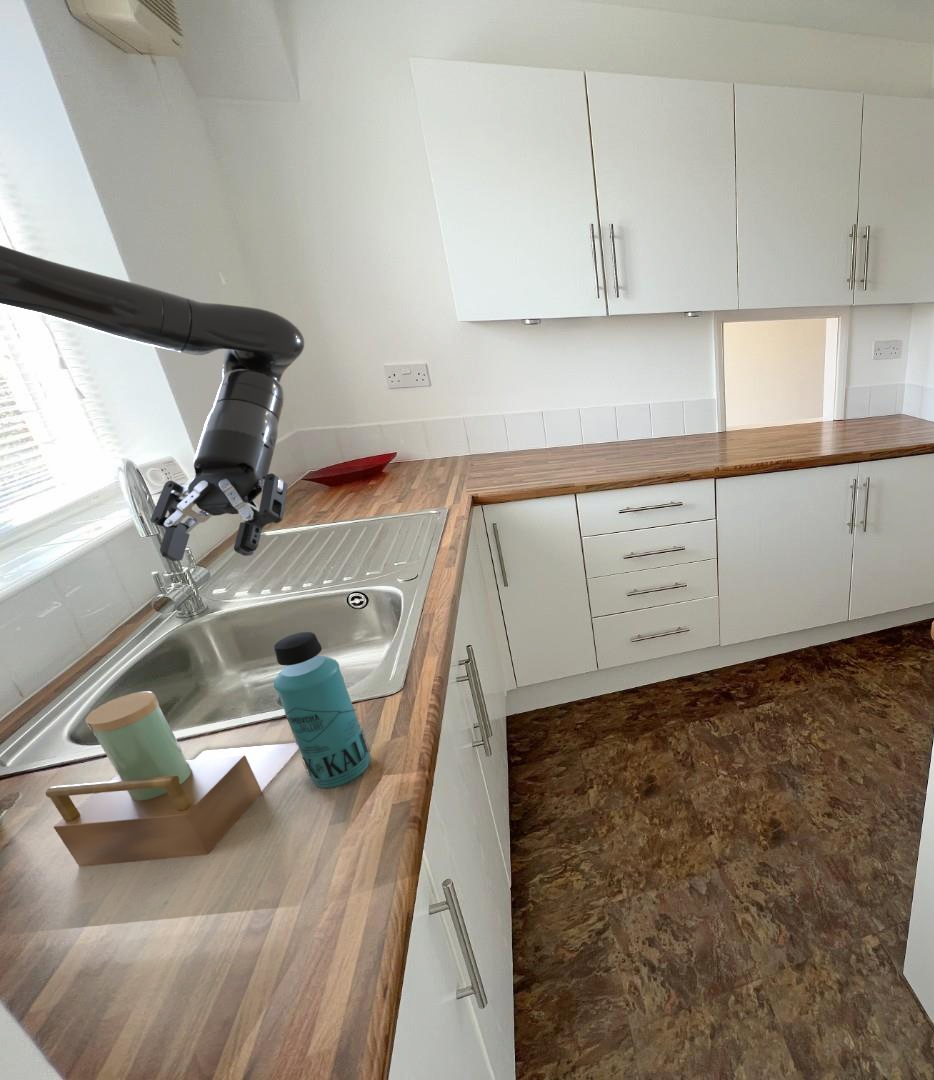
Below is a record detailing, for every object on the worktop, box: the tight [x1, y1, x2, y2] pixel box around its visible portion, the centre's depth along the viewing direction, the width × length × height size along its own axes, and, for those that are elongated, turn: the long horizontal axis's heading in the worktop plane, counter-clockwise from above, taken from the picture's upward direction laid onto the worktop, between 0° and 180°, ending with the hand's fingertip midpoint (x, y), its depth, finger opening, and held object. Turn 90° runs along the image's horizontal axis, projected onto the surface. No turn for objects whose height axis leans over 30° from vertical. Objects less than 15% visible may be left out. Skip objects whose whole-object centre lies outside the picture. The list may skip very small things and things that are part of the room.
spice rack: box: [45, 742, 300, 868], centre depth 67 cm, size 13×17×11 cm
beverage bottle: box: [273, 631, 372, 789], centre depth 68 cm, size 6×7×20 cm
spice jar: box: [85, 691, 191, 801], centre depth 61 cm, size 5×5×10 cm
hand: (207, 556), depth 71 cm, fingers open, 8 cm apart
